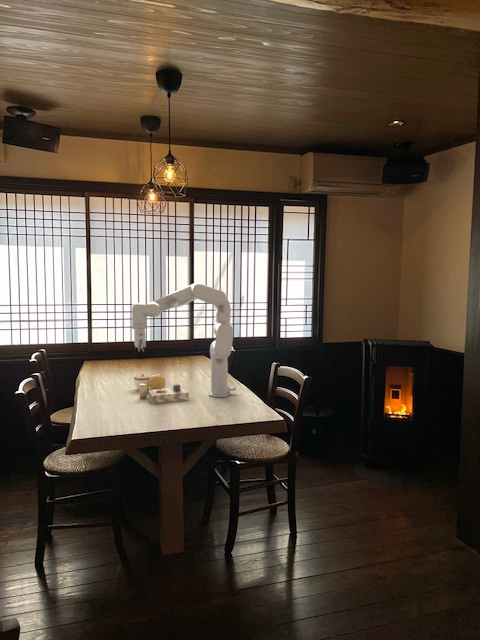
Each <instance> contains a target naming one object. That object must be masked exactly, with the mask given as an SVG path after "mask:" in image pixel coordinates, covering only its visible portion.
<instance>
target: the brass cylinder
mask: <svg viewBox="0 0 480 640" xmlns="http://www.w3.org/2000/svg"><path fill="white" fill-rule="evenodd" d="M139 389H140V390H139V399H140V400H146V399H148V389H147V384H145V383H143V384H139Z"/></svg>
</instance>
